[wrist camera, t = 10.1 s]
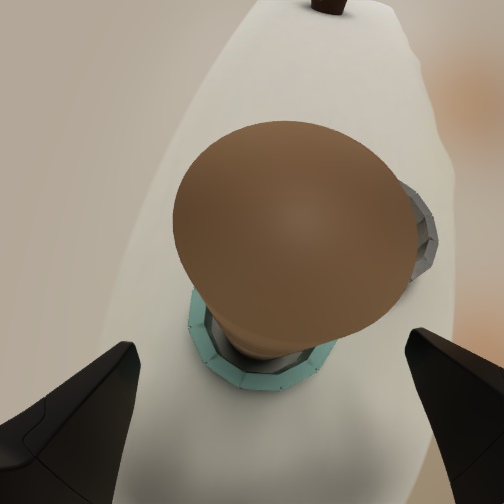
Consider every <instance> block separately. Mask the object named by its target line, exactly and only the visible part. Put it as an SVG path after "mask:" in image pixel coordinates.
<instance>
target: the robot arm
mask: <svg viewBox="0 0 504 504" xmlns="http://www.w3.org/2000/svg"><path fill="white" fill-rule="evenodd" d="M405 356H406V359H407V362H408V365H409V368H410V371H411V374H412V378H413V381H414V384H415V387H416V390H417V392H418V395H419V397H420V400H421V402H422V405H423V407H424V410H425V412H426V415H427V417H428V420H429V422H430V425H431V428H432V430H433V433H434V436H435V438H436V441H437V444H438V447H439V450H440V453H441V456H442V459H443V462H444V465H445V468H446V471H447V475H448V478H449V481H450V485H451V488H452V492H453V495H454V500H455V503H456V504H504V369H503V368H502V367H499V366H498V365H496V364H494V363H492V362H490V361H488V360H486V359H484V358H482V357H480V356H478V355H476V354H474V353H472V352H470V351H468V350H466V349H464V348H462V347H460V346H458V345H456V344H454V343H452V342H450V341H449V340H447V339H445V338H443V337H441V336H439V335H437V334H435V333H433V332H431V331H429V330H427V329H425V328H415V329H413V330H412V331H411V332H410V335H409V338H408V340H407V343H406V346H405ZM140 368H141V363H140V359H139V356H138V353H137V350H136V346H135V344H134V343H133V342H127V341H121V342H119V343H118V344H117V345H115V346H114V347H112V348H111V349H110V350H108V351H107V352H106V353H104V354H103V355H101V356H100V357H99V358H97V359H96V360H94V361H93V362H92V363H90V364H89V365H88V366H86V367H85V368H83V369H82V370H81V371H79V372H78V373H77V374H75V375H74V376H72V377H71V378H70V379H68V380H67V381H65V382H64V383H63V384H61V385H60V386H59V387H57V388H56V389H54V390H53V391H52V392H50V393H49V394H47V395H46V397H43V398H42V399H41V400H39V401H38V402H36V403H35V404H34V405H32V406H31V407H29V408H28V409H26V410H25V411H23V412H22V413H20V414H19V415H17V416H15V417H13V418H12V419H10V420H8V421H7V422H5V423H3V424H1V425H0V504H112V500H113V495H114V490H115V485H116V480H117V476H118V471H119V467H120V462H121V458H122V453H123V449H124V445H125V441H126V437H127V433H128V429H129V425H130V422H131V418H132V414H133V410H134V405H135V399H136V392H137V386H138V380H139V374H140Z"/></svg>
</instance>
